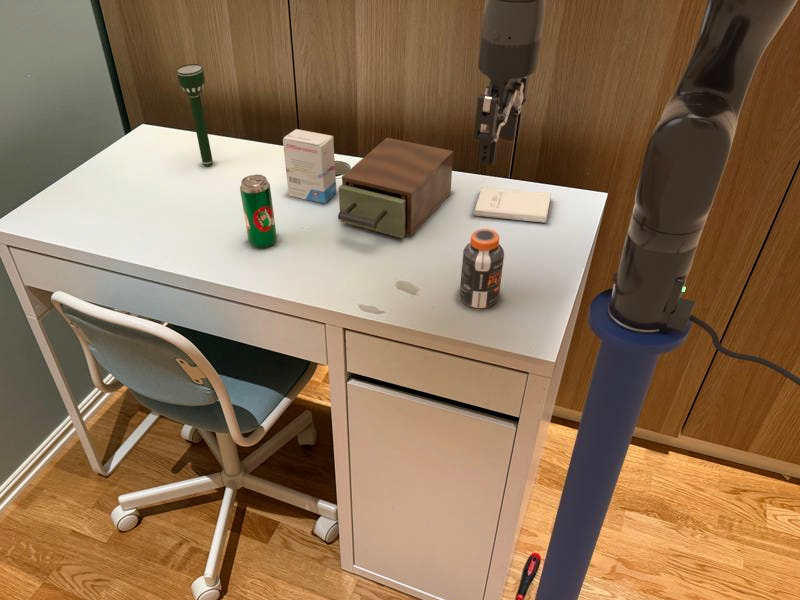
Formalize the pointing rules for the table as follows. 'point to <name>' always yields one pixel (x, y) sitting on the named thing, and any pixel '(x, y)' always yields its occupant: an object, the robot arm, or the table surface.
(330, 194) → the ink box
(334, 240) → the table surface
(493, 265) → the pill bottle
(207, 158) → the flashlight
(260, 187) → the soda can
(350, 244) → the table surface
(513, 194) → the hard drive
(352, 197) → the drawer
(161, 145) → the table surface
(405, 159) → the cabinet
